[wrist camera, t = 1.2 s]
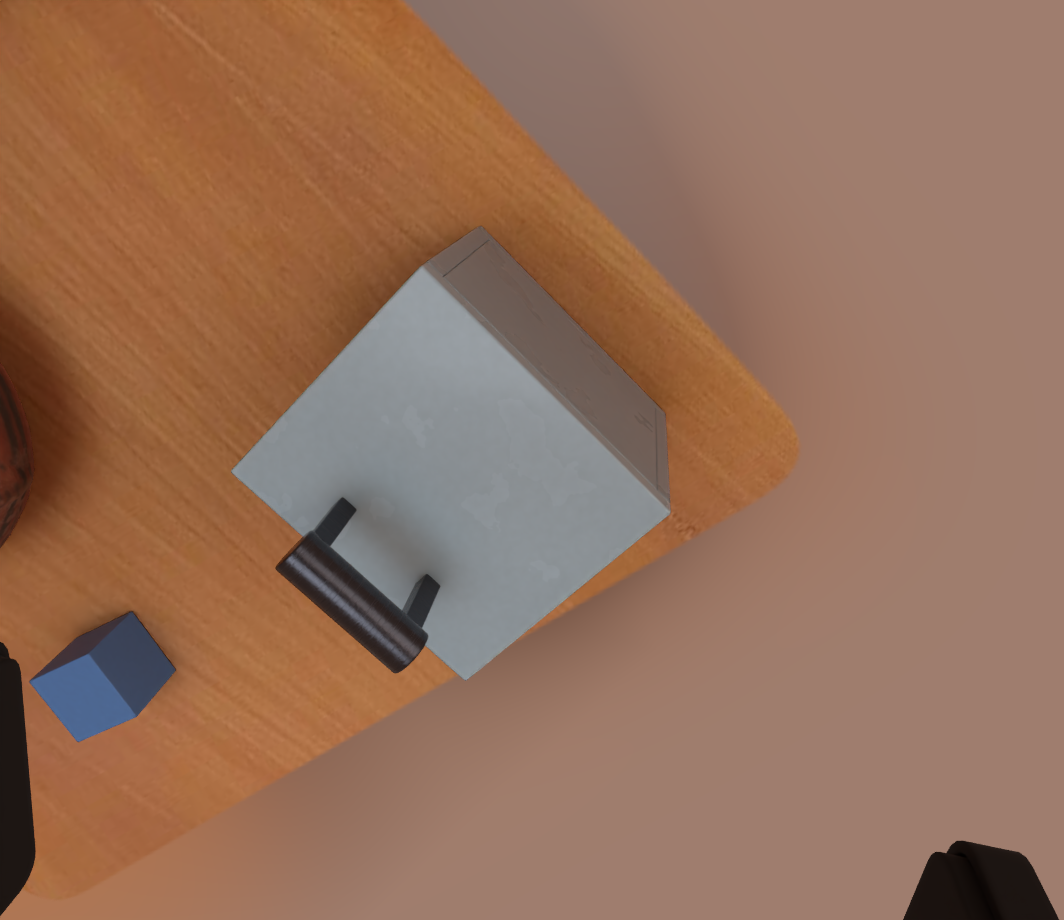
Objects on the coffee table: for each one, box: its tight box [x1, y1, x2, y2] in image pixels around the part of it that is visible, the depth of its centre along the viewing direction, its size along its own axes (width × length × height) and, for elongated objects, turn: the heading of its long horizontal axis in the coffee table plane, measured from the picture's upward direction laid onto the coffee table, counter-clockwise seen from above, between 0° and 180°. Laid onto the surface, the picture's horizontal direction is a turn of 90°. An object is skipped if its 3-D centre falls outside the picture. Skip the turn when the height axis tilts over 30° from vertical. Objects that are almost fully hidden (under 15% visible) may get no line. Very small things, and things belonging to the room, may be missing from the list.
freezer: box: [426, 226, 670, 503], centre depth 35 cm, size 9×11×10 cm
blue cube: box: [29, 612, 176, 742], centre depth 46 cm, size 4×4×4 cm
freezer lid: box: [231, 263, 671, 681], centre depth 29 cm, size 10×11×5 cm
